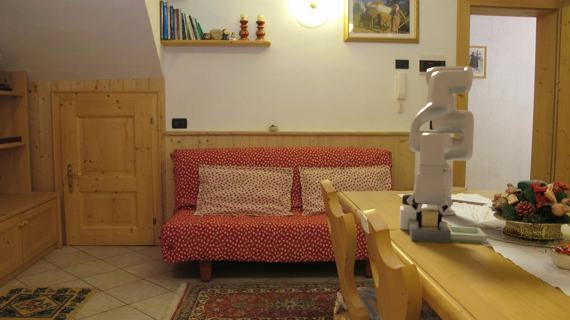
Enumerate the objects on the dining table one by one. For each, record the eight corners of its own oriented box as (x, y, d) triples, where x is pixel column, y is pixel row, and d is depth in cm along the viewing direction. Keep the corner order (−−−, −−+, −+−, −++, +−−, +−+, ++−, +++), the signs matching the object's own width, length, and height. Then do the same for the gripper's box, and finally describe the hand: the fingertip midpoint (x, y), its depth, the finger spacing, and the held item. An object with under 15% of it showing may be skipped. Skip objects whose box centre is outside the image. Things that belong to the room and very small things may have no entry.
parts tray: (445, 232, 165) (445, 225, 164) (478, 234, 163) (478, 227, 162) (450, 241, 154) (450, 233, 154) (486, 243, 152) (486, 235, 152)
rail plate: (407, 230, 167) (408, 219, 167) (443, 232, 165) (443, 220, 165) (411, 240, 153) (412, 228, 153) (450, 243, 151) (450, 230, 151)
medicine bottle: (420, 230, 167) (422, 197, 165) (400, 229, 168) (401, 196, 167) (419, 226, 174) (420, 193, 172) (399, 224, 175) (400, 192, 174)
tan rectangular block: (418, 233, 162) (420, 208, 161) (435, 234, 161) (436, 208, 161) (420, 238, 157) (421, 211, 156) (437, 239, 156) (438, 212, 155)
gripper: (456, 169, 159) (453, 222, 161) (403, 167, 162) (401, 219, 164) (460, 172, 152) (457, 227, 154) (405, 170, 155) (403, 225, 157)
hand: (428, 223), depth 159 cm, fingers closed on tan rectangular block, 5 cm apart
